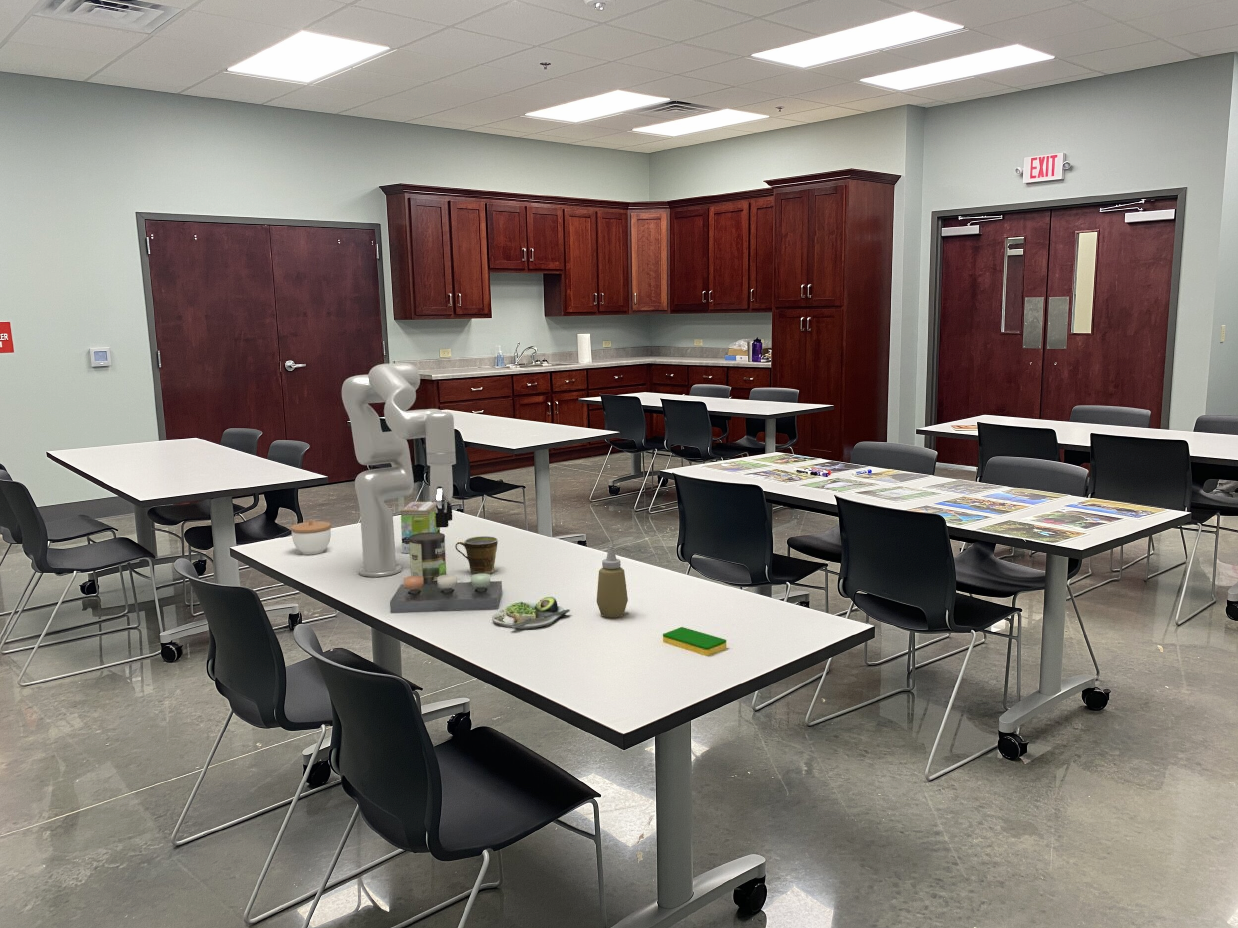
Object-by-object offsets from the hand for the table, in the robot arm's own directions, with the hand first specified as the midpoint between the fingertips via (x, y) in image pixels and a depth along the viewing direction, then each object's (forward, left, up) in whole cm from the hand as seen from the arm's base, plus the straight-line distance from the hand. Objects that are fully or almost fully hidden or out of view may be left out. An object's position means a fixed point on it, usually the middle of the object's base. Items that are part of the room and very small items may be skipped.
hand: (444, 523), depth 248 cm
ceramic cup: (-29, +5, -22) cm, 37 cm away
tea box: (-62, -17, -22) cm, 68 cm away
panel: (0, 0, -22) cm, 22 cm away
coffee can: (-19, -8, -22) cm, 30 cm away
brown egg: (0, -9, -20) cm, 22 cm away
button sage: (0, +9, -20) cm, 22 cm away
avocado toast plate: (+16, +23, -22) cm, 36 cm away
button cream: (0, 0, -20) cm, 20 cm away
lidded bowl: (-61, -53, -22) cm, 84 cm away
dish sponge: (+40, +62, -22) cm, 77 cm away
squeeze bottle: (+16, +44, -22) cm, 52 cm away
